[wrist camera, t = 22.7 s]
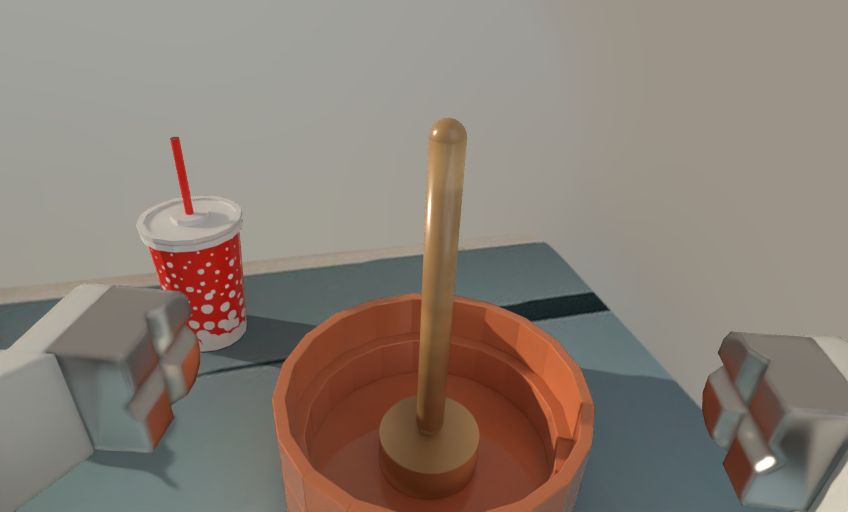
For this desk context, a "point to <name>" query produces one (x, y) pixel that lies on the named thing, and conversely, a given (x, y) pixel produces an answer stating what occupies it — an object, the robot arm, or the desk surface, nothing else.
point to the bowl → (466, 384)
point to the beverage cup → (199, 258)
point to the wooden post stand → (434, 346)
